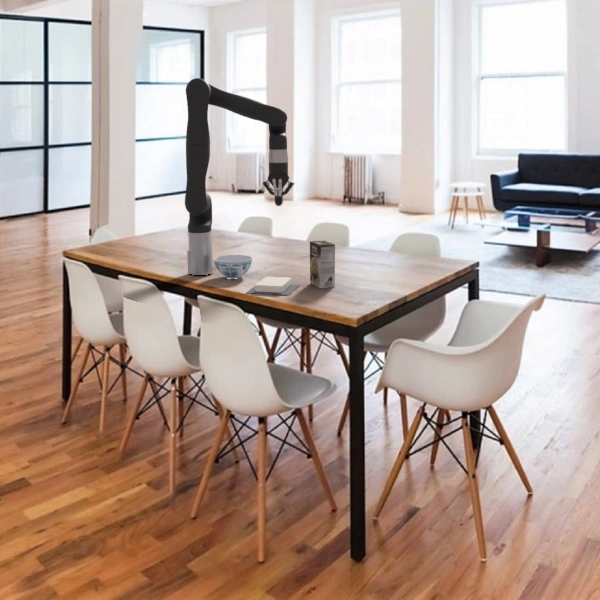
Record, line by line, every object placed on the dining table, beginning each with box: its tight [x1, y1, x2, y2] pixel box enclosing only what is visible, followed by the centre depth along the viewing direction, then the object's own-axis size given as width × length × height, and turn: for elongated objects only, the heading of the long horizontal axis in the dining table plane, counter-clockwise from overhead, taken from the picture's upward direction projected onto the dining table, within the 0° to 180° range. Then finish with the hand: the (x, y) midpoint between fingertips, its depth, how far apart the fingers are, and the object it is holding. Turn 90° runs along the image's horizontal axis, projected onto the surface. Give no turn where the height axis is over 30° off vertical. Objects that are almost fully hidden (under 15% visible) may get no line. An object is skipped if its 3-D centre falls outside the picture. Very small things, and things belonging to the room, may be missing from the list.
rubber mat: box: [245, 284, 300, 296], centre depth 263 cm, size 16×15×1 cm
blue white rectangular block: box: [254, 276, 293, 293], centre depth 264 cm, size 10×3×14 cm
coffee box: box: [309, 240, 336, 289], centre depth 267 cm, size 9×6×16 cm
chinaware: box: [213, 254, 253, 279], centre depth 283 cm, size 15×15×8 cm
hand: (278, 205), depth 287 cm, fingers closed
